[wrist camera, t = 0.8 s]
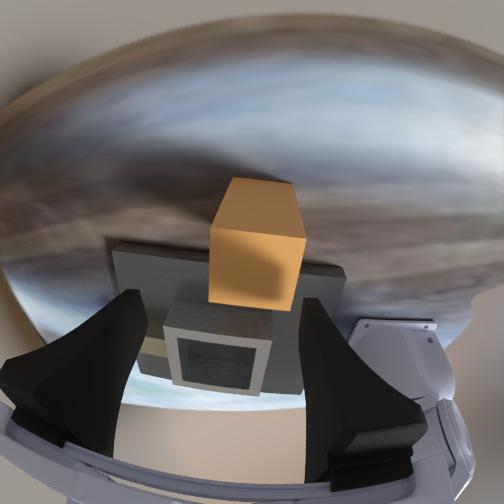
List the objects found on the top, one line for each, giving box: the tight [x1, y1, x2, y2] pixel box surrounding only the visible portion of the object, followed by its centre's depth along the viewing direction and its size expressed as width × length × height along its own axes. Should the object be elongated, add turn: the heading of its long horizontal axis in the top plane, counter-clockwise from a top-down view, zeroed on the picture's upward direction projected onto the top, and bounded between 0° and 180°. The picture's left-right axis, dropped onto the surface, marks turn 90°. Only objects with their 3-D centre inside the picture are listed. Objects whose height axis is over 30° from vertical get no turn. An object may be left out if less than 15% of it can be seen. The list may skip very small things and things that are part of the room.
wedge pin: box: [209, 177, 306, 311], centre depth 16 cm, size 4×4×8 cm
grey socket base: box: [112, 241, 347, 396], centre depth 24 cm, size 18×16×4 cm
